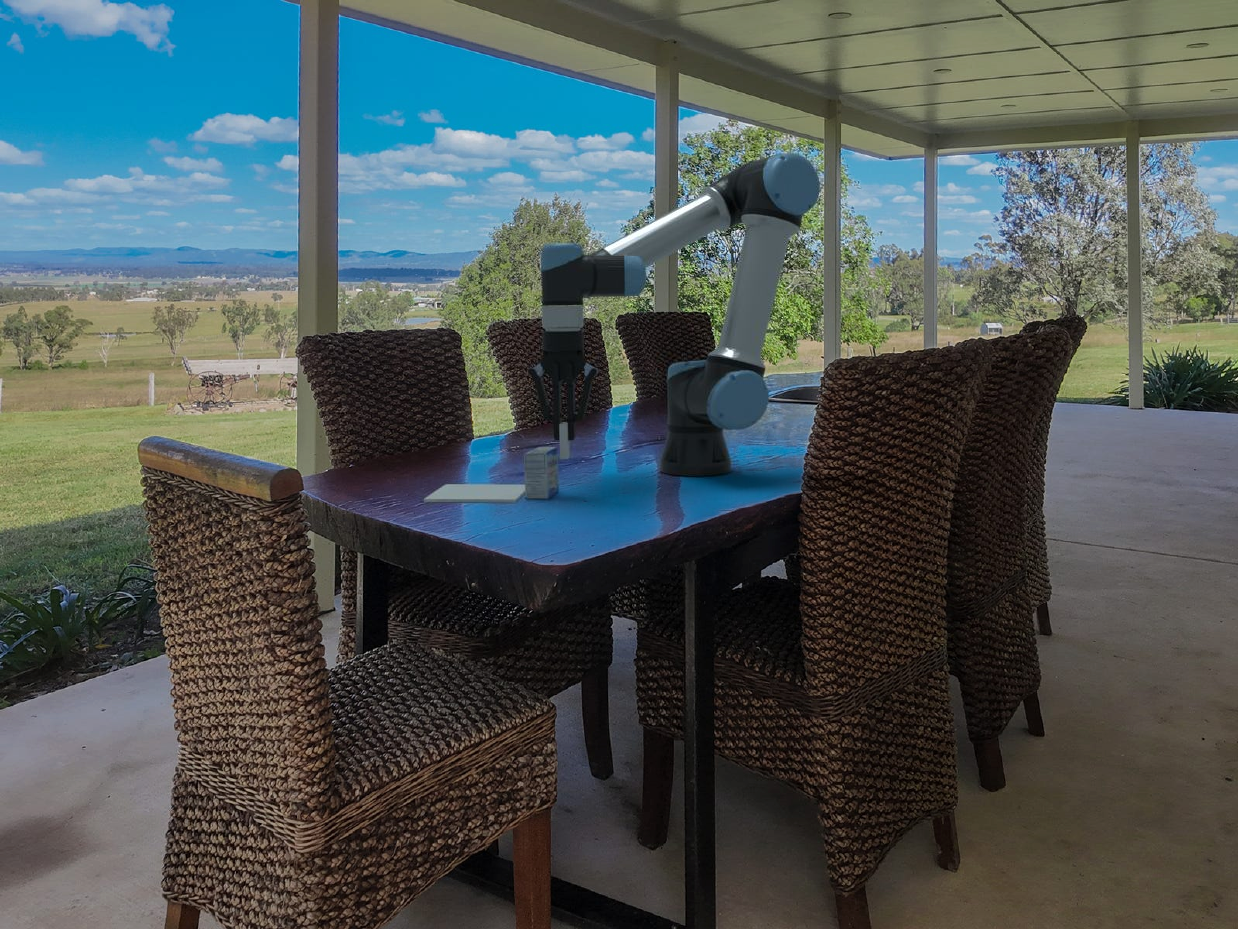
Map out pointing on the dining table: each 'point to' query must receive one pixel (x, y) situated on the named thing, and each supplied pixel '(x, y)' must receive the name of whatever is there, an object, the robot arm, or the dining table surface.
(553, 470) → the medicine box
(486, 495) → the mat
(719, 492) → the dining table surface
